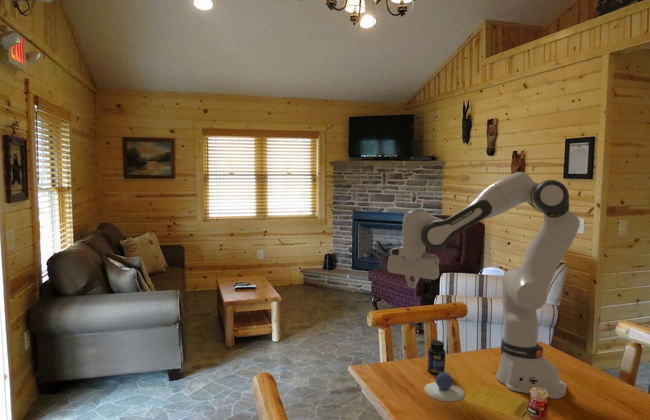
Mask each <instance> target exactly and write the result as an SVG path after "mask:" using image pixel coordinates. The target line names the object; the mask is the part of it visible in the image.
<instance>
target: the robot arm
mask: <svg viewBox="0 0 650 420" xmlns="http://www.w3.org/2000/svg"><path fill="white" fill-rule="evenodd" d="M523 203H528V205H530V206H531V207H532V208H533V209H535V210H536V211H538V212H539V213H543V221H542V222H541V223H542V224H541V226H540V227H539V229H538V230H537V232H536V233H535V236H534V237H533V238H532V240H531V241H530V243H529V245H528V246H527V248H526V250H525V252H524V256H523V257H524V258H523V260H522V263H521V266H520V267H519V268H515V267H514V268H509V270H506V272H505V273H504V274H503V276H502V279H501V283H502V305H503V319H504V320H503V332H502V333H503V334H502V335H503V336H502V339H501V341H500V354H501V356H500V362H499V366H498V369H497V373H496V375H495V377H496V379H497V380H498V381H499V382H500V383H502V384H503V385H505V387H506V388H507V389H509V390H510V391H513V392H518V393H524V394H528V395H530V394H529V392H530V389H531V388H533V387H542V388H545V389H546V390H547V391H548V395H549V399H555V400H559V399H561V398H563V397H565V396H566V395H567V390H568V389H567V388H568V387H567V385H566V383H565V382H564V381H563V380H561V379H560V373H559V370H558V368H557V367H556V366H555V365H554V364H553V363H551V362H550V361H549V360H548V359H547V358H546V357H545V356H544V345H539V343H538V333H539V332H538V331H539V319H538V314H537V310H539V309H541V308H542V307H543V306H544V305H545V304H546V303H547V299H548V291H549V288H550V286H551V283H552V281H553V278H554V275H555V274H556V271H557V269H558V266H559V265H560V263H561V262H562V260H563V259H564V256H565V255H566V253H567V252H568V251H569V249H570V247H571V246H572V245H573V242H574V241H575V239H576V237H577V234H578V231H579V229H580V225H581V222H580V219H579V217H578V215H576V214H575V213H574V212H572V211H570V194H569V190H568V188H567V186H566V185H565V184H564V183H562V182H560V180H559V181H558V180H556V179H548V180H544V181H541V182H535V181H534V180H533V179H532V177H531V176H530V175H528V174H527V173H525V172H523V171H517V172H514V173H511V174H508V175H506V176H504V177H501V178H500V179H497V180H496V181H494V182H493V183H491V184H489V185H487V186H486V187H485V188H483V189H482V190H481V191H480V192H479V193H477V195H476V196H475V197H474V199H473V200H472V201H471V202H470V203H469V205H467V206H466V207H465V208H463V209H461V210H460V211H458V212H456V213H455V214H453V215H451V216H450V217H448V218H446V219H442V218H439V217H437V216H434V215H432V214H430V213H429V212H428V211H426V210H425V209H421V208H417V209H416V208H415V209H412V210H408V211H406V213H404V216H403V219H402V229H401V232H402V233H401V234H402V241H401V246H400V245H399V246H397V247H393V248H390V249H389V256H388V258H387V266H386V269H387V272H388V273H392V274H396V275H404V279H405V280H406V282H407V287H408V288H413V289H416V288H417V283H418V282H419V281H420V279H421V278H422V279H428V280H434V281H435V280H436V279H438V278H439V276H440V267H439V265H440V258H439V257H438V255H437V254H434V253H432V254H431V253H426V248H427V249H429V250H431V251H441V250H443V249H444V248H446V247H447V246H448V245H449V243H450V242H451V240H453V238H454V237H455V236H456V235H458V234H459V233H461V232H463V231H465V230H467V229H468V228H471V227H472V226H473V225H475V224H478V223H479V222H482V221H485V220H487V219H490V218H494V217H496V216H499V215H501V214H503V213H506V212H507V211H510V210H512V209H513V208H515V207H517V206H519V205H520V204H523ZM411 277H413V280H414V281H412V280H411Z"/></svg>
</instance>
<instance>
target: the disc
mask: <svg viewBox="0 0 650 420" xmlns="http://www.w3.org/2000/svg"><path fill="white" fill-rule="evenodd" d="M423 391H424V392H425V393H426V395H427V396H429V397H430V398H431V399H435V400H436V401H442V402H450V403H451V402H458V401H461V400H463V398H465V392H464V390H463V389H462V388H461V387H459V386H458V385H455V384H453V383H452V386H451V387H450V388H449V389H447V390H443V389H441V388H439V387H438V386H437V384H436V381H432V382H431V383H427V384H426V385H425V386H424V390H423Z"/></svg>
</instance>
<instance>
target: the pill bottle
mask: <svg viewBox="0 0 650 420" xmlns="http://www.w3.org/2000/svg"><path fill="white" fill-rule="evenodd" d="M444 347H445V343H444V342H443V341H441V340H436V339H435V340H431V341H430V347H428V351H427V353H428V356H427V372H429V373H430V374H432V375H435V376H437V375H438V374H440V373H443V372H444V373H445V369H446V367H445V366H446V350H445V349H444Z"/></svg>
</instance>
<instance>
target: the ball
mask: <svg viewBox="0 0 650 420" xmlns="http://www.w3.org/2000/svg"><path fill="white" fill-rule="evenodd" d="M435 382H436V384H437V386H438V387H439V388H441V389H443V390H447V389H449V388H450V387H451V386H452V384H453V382H454V381H453V378H452V376H451V375H450V373H448V372H445V371H444V372H443V373H440V374H438V375H436V377H435Z"/></svg>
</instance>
